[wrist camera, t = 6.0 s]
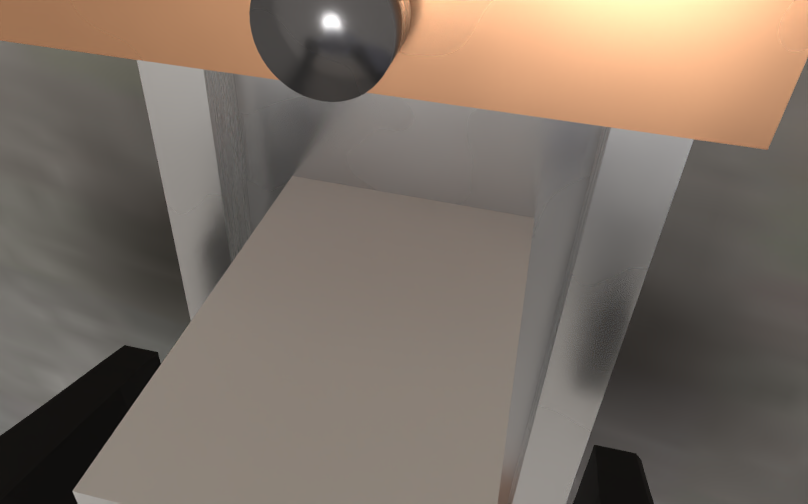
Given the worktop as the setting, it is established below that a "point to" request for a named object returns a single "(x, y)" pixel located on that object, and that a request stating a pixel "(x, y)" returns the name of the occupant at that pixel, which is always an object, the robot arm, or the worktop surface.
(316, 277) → the block
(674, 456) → the worktop surface
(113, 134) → the worktop surface
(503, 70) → the rail
